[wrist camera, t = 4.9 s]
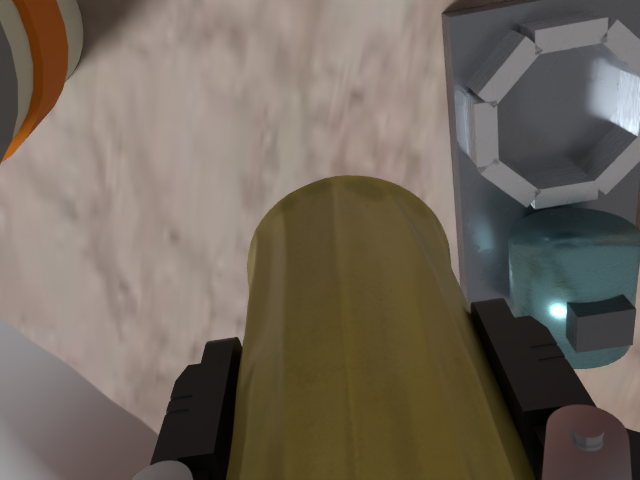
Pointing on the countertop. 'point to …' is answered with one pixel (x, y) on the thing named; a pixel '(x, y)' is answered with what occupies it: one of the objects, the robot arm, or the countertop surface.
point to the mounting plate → (549, 164)
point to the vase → (364, 348)
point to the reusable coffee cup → (34, 63)
